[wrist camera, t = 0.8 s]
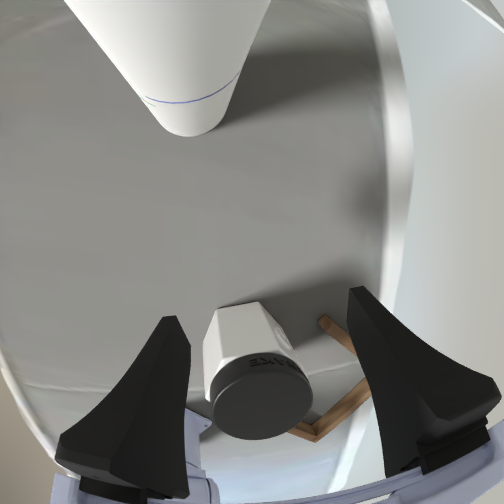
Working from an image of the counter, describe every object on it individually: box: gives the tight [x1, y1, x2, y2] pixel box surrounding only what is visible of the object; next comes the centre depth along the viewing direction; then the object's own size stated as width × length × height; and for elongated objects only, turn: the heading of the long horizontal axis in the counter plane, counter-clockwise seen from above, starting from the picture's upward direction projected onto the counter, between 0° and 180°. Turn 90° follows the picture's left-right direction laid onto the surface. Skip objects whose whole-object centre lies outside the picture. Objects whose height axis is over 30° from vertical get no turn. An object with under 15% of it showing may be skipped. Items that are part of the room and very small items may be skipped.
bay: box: [287, 314, 372, 443], centre depth 34 cm, size 15×15×2 cm
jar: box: [203, 302, 313, 440], centre depth 26 cm, size 9×8×12 cm
